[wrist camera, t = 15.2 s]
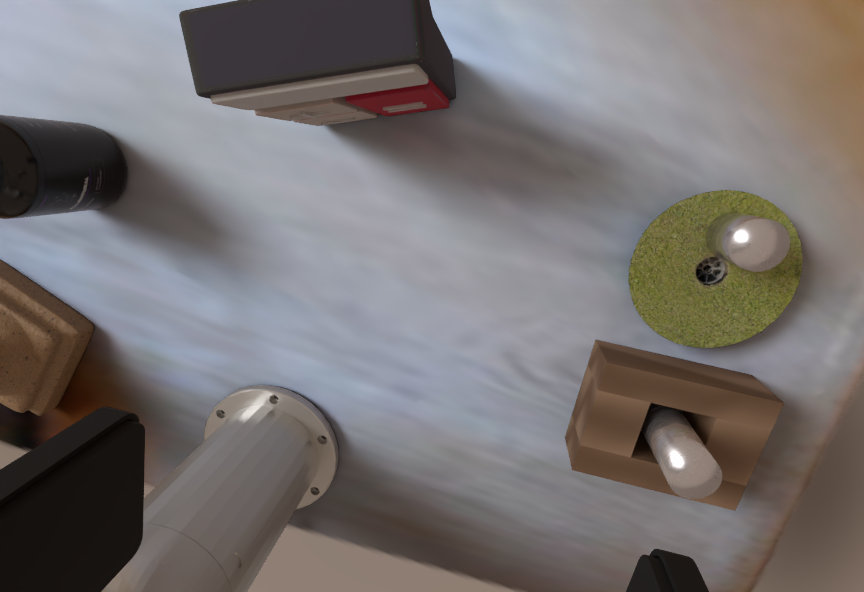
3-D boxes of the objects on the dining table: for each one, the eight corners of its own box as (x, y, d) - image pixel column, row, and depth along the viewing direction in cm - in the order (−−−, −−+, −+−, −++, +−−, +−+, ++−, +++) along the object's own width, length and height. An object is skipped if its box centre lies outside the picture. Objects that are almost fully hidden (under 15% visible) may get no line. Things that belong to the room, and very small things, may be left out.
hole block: (710, 472, 40) (735, 510, 36) (565, 437, 41) (572, 470, 37) (752, 375, 37) (784, 403, 33) (595, 339, 38) (607, 362, 34)
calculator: (314, 130, 37) (196, 113, 23) (304, 69, 36) (173, 11, 22) (458, 110, 35) (427, 78, 21) (451, 45, 34) (415, -35, 20)
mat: (815, 208, 34) (833, 211, 32) (750, 354, 37) (763, 365, 35) (652, 172, 35) (661, 173, 33) (603, 318, 38) (608, 327, 36)
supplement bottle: (135, 210, 41) (-7, 231, 30) (62, 205, 42) (-104, 224, 30) (125, 124, 39) (-32, 110, 28) (48, 120, 40) (-135, 105, 28)
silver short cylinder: (746, 263, 34) (777, 276, 30) (698, 253, 34) (723, 265, 30) (764, 217, 33) (799, 225, 29) (715, 207, 33) (743, 214, 29)
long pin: (666, 429, 40) (711, 504, 31) (626, 419, 40) (660, 491, 31) (679, 394, 39) (730, 462, 30) (639, 385, 39) (677, 449, 30)
